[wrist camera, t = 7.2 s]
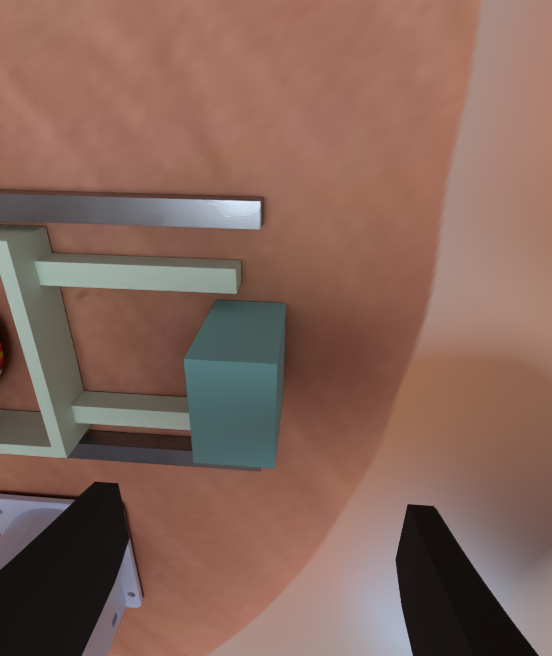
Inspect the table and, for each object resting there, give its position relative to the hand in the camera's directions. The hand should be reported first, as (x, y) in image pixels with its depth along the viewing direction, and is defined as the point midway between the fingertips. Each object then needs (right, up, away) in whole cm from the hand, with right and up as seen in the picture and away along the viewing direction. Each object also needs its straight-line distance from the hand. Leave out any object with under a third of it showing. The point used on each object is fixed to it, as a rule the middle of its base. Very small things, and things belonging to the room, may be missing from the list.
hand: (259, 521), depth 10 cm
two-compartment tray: (-9, +4, +9) cm, 13 cm away
